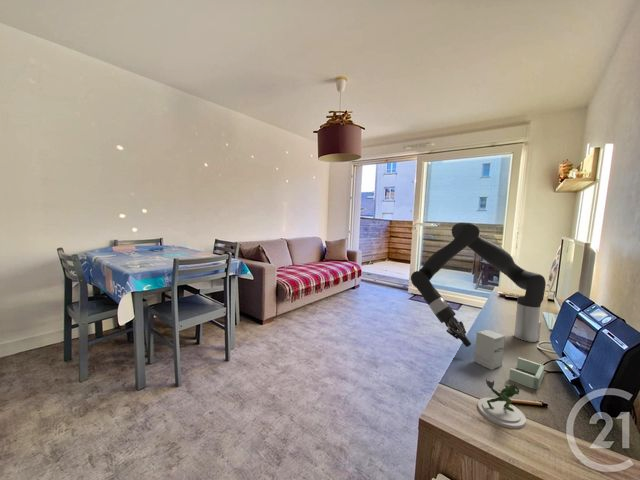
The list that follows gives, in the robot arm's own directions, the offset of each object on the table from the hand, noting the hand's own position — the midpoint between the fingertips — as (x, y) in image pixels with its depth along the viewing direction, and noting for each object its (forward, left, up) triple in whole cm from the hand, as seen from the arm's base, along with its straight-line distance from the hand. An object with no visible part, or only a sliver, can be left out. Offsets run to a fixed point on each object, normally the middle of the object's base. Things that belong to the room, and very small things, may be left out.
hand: (469, 345), depth 116 cm
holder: (-14, +14, -5) cm, 21 cm away
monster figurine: (+8, +34, -5) cm, 36 cm away
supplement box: (-5, +5, -5) cm, 9 cm away
